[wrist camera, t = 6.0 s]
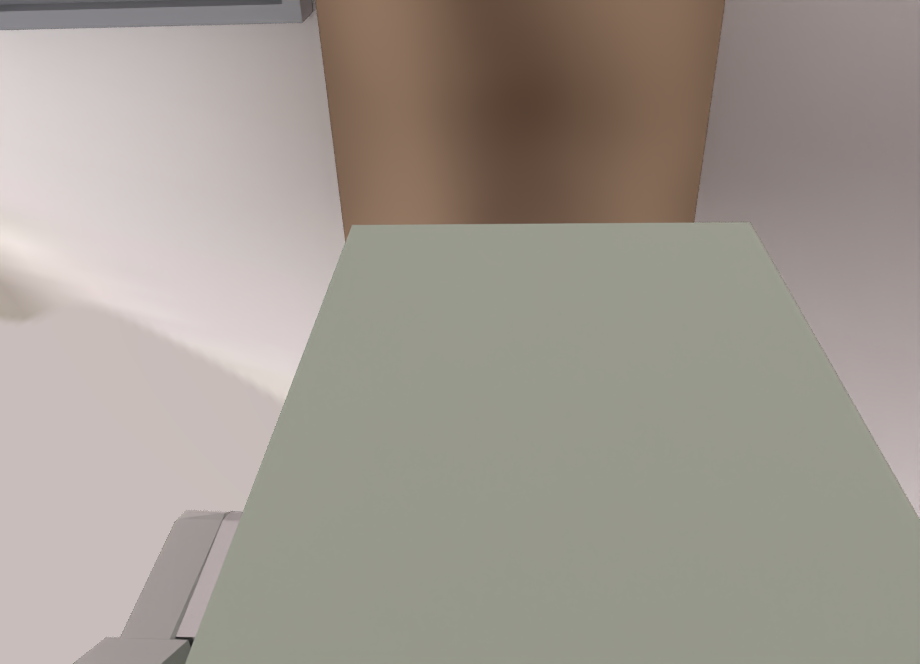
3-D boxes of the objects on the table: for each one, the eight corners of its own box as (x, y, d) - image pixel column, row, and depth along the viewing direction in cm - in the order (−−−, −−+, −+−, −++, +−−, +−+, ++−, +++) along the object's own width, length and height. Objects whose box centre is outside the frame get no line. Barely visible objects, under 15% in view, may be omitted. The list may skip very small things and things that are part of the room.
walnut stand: (702, -117, 21) (739, -103, 18) (662, 222, 27) (685, 280, 24) (334, -105, 22) (304, -89, 19) (368, 225, 27) (350, 283, 24)
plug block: (749, 222, 10) (1238, 1075, 3) (698, 509, 13) (904, 1292, 6) (351, 225, 10) (52, 1010, 4) (385, 504, 13) (251, 1243, 6)
